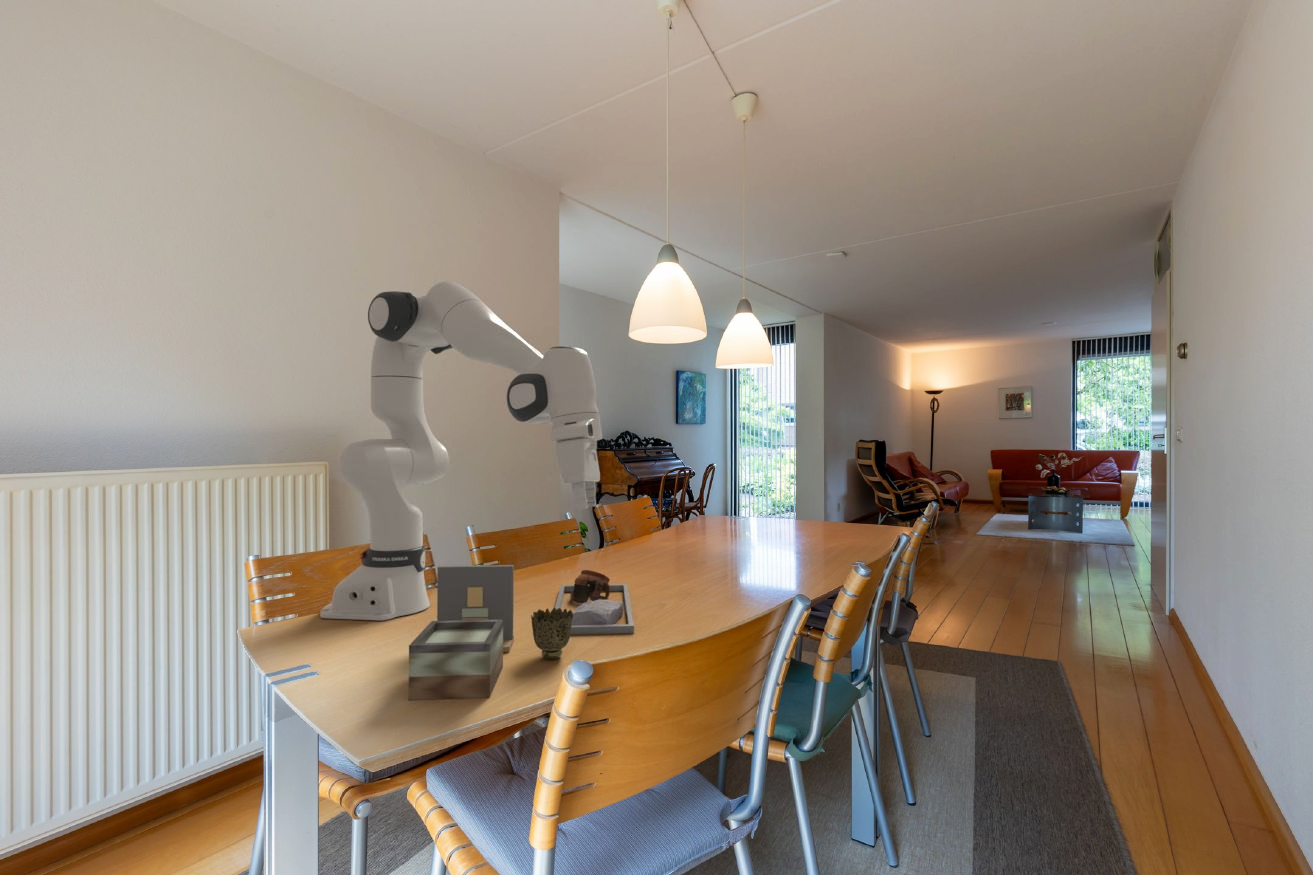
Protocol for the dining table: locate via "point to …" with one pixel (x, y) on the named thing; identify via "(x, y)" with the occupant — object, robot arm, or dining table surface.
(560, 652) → the cup
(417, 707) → the dining table surface
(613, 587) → the tray rim
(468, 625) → the striped square box
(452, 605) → the board
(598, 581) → the pottery mug
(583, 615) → the stone block
